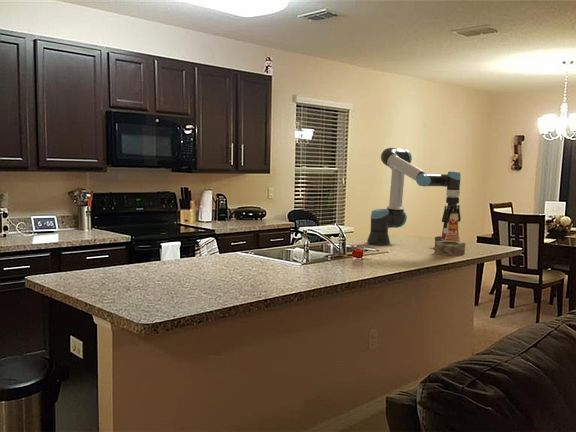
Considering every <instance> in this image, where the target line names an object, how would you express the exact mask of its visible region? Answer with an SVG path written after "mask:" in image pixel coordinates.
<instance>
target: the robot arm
mask: <svg viewBox="0 0 576 432" xmlns="http://www.w3.org/2000/svg"><path fill="white" fill-rule="evenodd" d="M412 157H413V156H412V153H411V151H409V150H408V149H406V148H402V147H401V148H400V147H399V148H397V147H387V148H385V149H384V150H383V151H382V152H381V154H380V161H381V162H382V163H383V165H385V166H387V168H390V170H391V176H390V177H391V178H390V190H389V200H388V201H389V202H388V203H389V205H388V206H386V208H377V209H373V210H371V213H370V232H369V236H368V238H367V241H366V244H367V245H373V246H389V245H391V240H390V236H389V229H393V228H394V229H395V228H396V229H397V228H401V227H403V226H404V225H405V224H406V223H407V218H408V216H407V214H406V211H405V208H404V207H403V197H404V187H405V186H404V183H405V176H407V177H408V178H410V179H412V180H414V181H415V182H416V184H417V185H418V186H420V187H446V198H445V203H446V204H447V205H444V210H443V214H442V217H441V223H443V225H444V231H443V233H446V234H448V226H449V223H448V221H449V218H450V215H451V213H452V212H453V211H454V212H456V213H458V223H460V222H461V218H462V217H461V210H460V208H461V207H460V205H459V203H460V190H461V187H460V186H461V180H462V178H461V172H460V171H451V170H450V171H447V174H446V173H445V174H443V173H428V172H426V171H424V170H422V169H421V168H419V167H417V166H415V165H414V164H412V160H413V158H412ZM453 209H454V210H453Z"/></svg>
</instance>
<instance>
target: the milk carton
mask: <svg viewBox="0 0 576 432" xmlns="http://www.w3.org/2000/svg"><path fill="white" fill-rule="evenodd" d="M453 210H454V209H453ZM448 223H449V226H448V234H446V233H443V231H444V224H443V225H442V233H441V237H442V238H441V240H443V241H444V242H461V240H460V239H461V238H460V230H459V222H458V213H456V212H454V211H453V212H452V213H451V215H450V218H449V221H448Z"/></svg>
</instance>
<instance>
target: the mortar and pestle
mask: <svg viewBox="0 0 576 432" xmlns="http://www.w3.org/2000/svg"><path fill="white" fill-rule="evenodd" d="M441 238H442V235H440V236H434V243H435V242H438V241H443V240H441Z"/></svg>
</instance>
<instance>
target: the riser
mask: <svg viewBox="0 0 576 432" xmlns="http://www.w3.org/2000/svg"><path fill="white" fill-rule="evenodd" d="M466 245H467V243H466V242H461V241H460V242H444V241H438V242H435V241H434V253H433V254H437V253H438V254H437V255H443V254H444V256H448V257H449V256H450V257H455V256H457V255H458V256H463V255H465V254H466V253H465V252H466V251H465V250H466Z"/></svg>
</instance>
